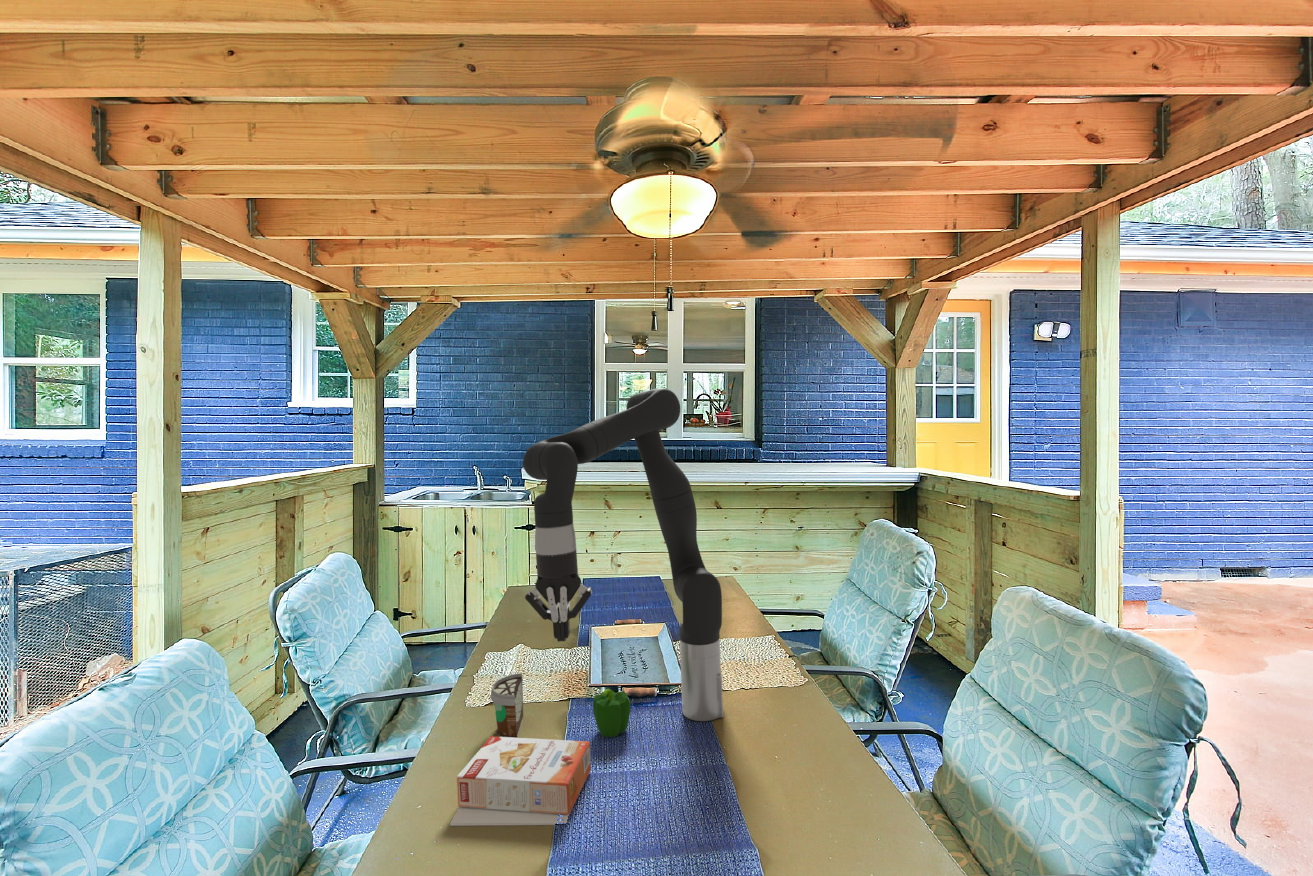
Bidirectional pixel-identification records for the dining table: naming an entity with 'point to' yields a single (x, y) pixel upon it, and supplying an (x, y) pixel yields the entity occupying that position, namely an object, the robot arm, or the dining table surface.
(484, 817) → the off-white mat
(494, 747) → the cracker box
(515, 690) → the food container
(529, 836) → the dining table surface
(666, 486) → the robot arm
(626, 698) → the bell pepper
